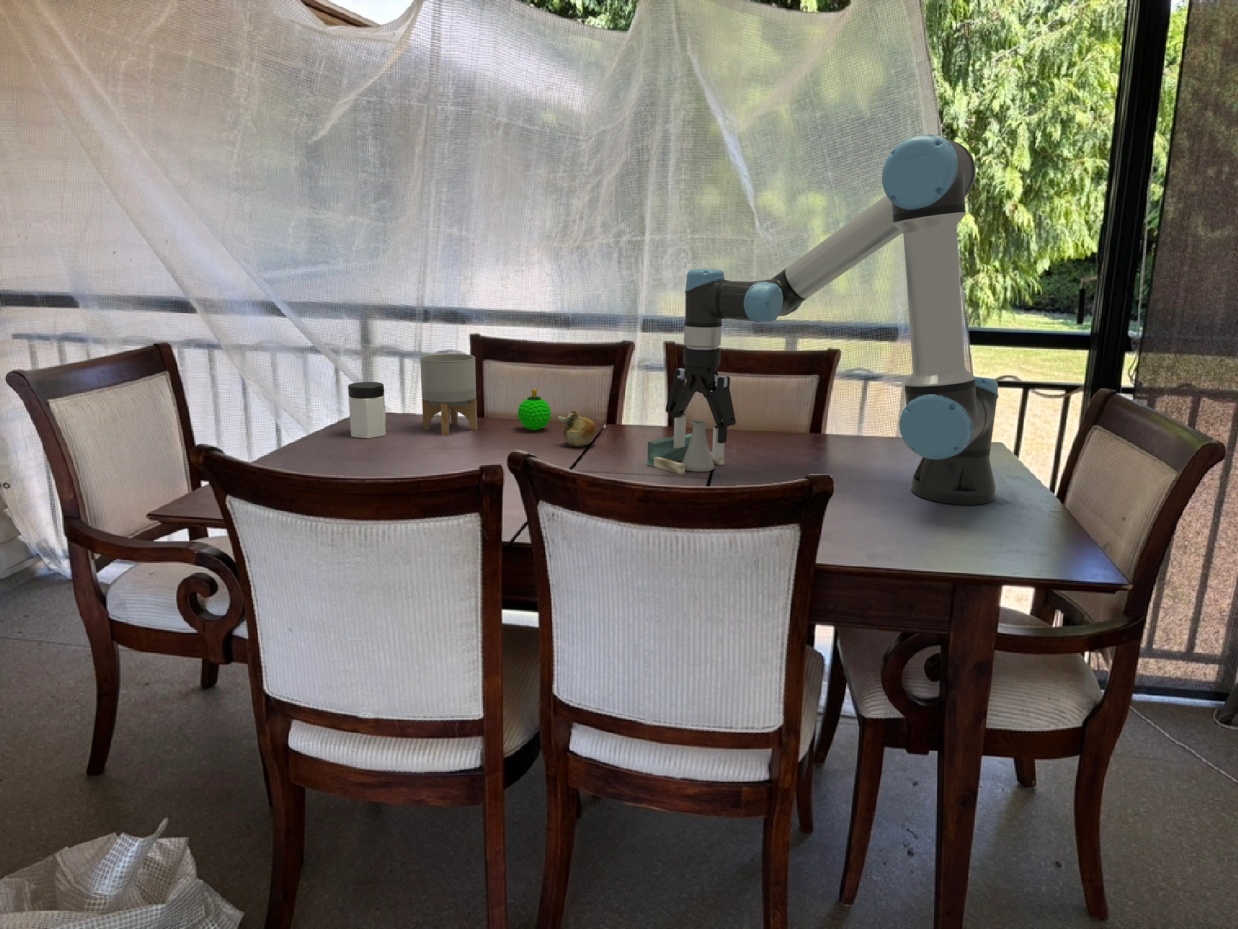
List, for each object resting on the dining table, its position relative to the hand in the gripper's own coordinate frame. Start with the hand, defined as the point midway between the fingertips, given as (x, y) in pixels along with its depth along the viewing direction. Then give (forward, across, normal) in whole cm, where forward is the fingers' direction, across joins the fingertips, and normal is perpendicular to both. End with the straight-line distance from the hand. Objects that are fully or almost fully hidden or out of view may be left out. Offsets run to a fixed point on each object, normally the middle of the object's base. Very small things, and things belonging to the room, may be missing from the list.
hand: (698, 452), depth 187 cm
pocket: (+3, +4, 0) cm, 5 cm away
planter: (+4, +62, +22) cm, 67 cm away
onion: (+4, +30, +8) cm, 32 cm away
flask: (+4, 0, 0) cm, 4 cm away
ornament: (+4, +50, +6) cm, 50 cm away
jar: (+4, +70, +40) cm, 81 cm away
